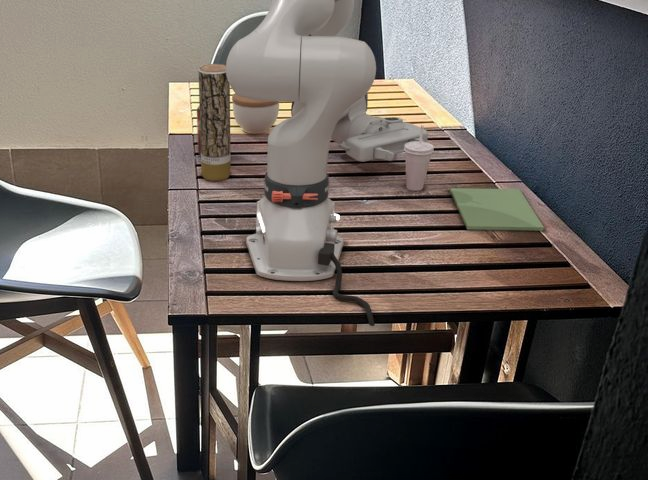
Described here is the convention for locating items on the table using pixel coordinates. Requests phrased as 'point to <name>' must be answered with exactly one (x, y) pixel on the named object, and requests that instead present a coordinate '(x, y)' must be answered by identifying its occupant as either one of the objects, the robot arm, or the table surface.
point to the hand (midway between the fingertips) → (410, 153)
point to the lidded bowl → (254, 114)
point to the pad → (495, 209)
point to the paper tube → (214, 122)
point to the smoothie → (417, 162)
